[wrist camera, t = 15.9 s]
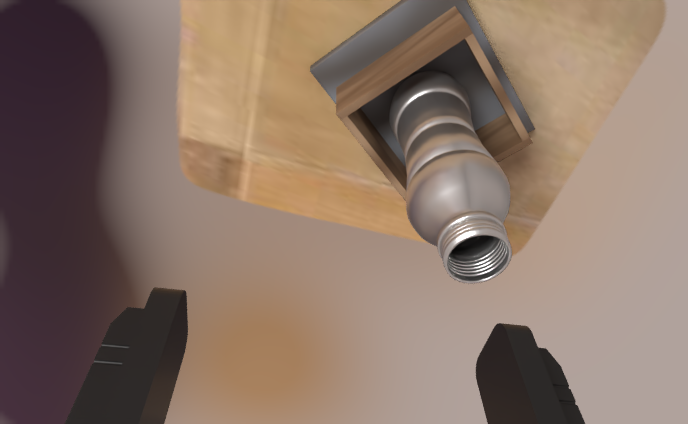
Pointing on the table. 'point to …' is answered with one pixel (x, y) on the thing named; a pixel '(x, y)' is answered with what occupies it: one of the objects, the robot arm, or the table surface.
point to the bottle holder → (415, 57)
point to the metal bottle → (451, 178)
